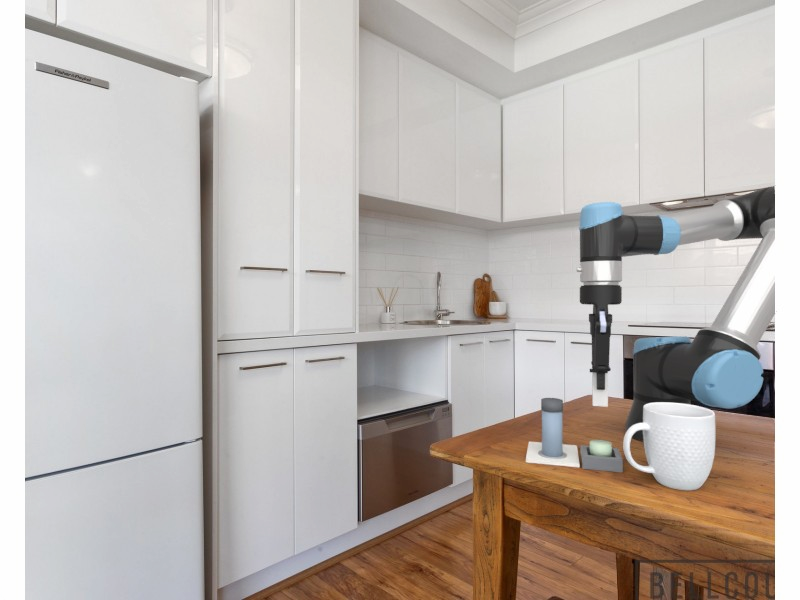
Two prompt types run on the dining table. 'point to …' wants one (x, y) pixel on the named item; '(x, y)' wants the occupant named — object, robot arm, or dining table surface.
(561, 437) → the capped blue-grey cylinder
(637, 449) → the dining table surface
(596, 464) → the button housing
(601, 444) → the button
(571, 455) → the white flat plate
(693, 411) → the mug
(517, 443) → the dining table surface
